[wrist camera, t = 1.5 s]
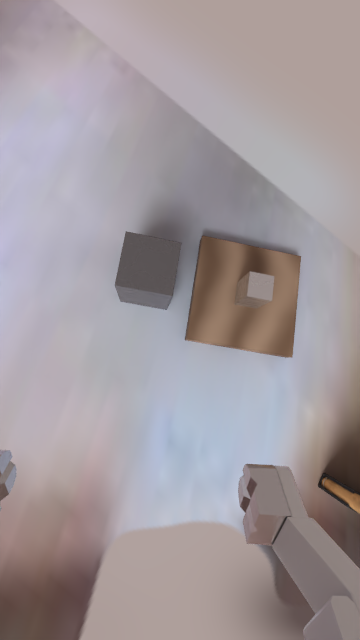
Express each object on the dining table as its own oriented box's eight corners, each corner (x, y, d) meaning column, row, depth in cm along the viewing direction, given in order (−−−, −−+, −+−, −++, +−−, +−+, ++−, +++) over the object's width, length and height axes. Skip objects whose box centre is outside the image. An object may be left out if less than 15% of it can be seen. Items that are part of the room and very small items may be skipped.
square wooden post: (234, 304, 36) (247, 296, 32) (237, 282, 37) (250, 271, 32) (256, 308, 37) (272, 300, 32) (258, 286, 37) (274, 276, 33)
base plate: (184, 339, 36) (186, 338, 35) (200, 240, 39) (202, 235, 37) (286, 357, 38) (292, 357, 36) (295, 260, 40) (300, 256, 39)
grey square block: (120, 301, 36) (114, 285, 29) (129, 257, 37) (125, 231, 30) (166, 309, 37) (172, 296, 29) (173, 266, 38) (181, 242, 30)
